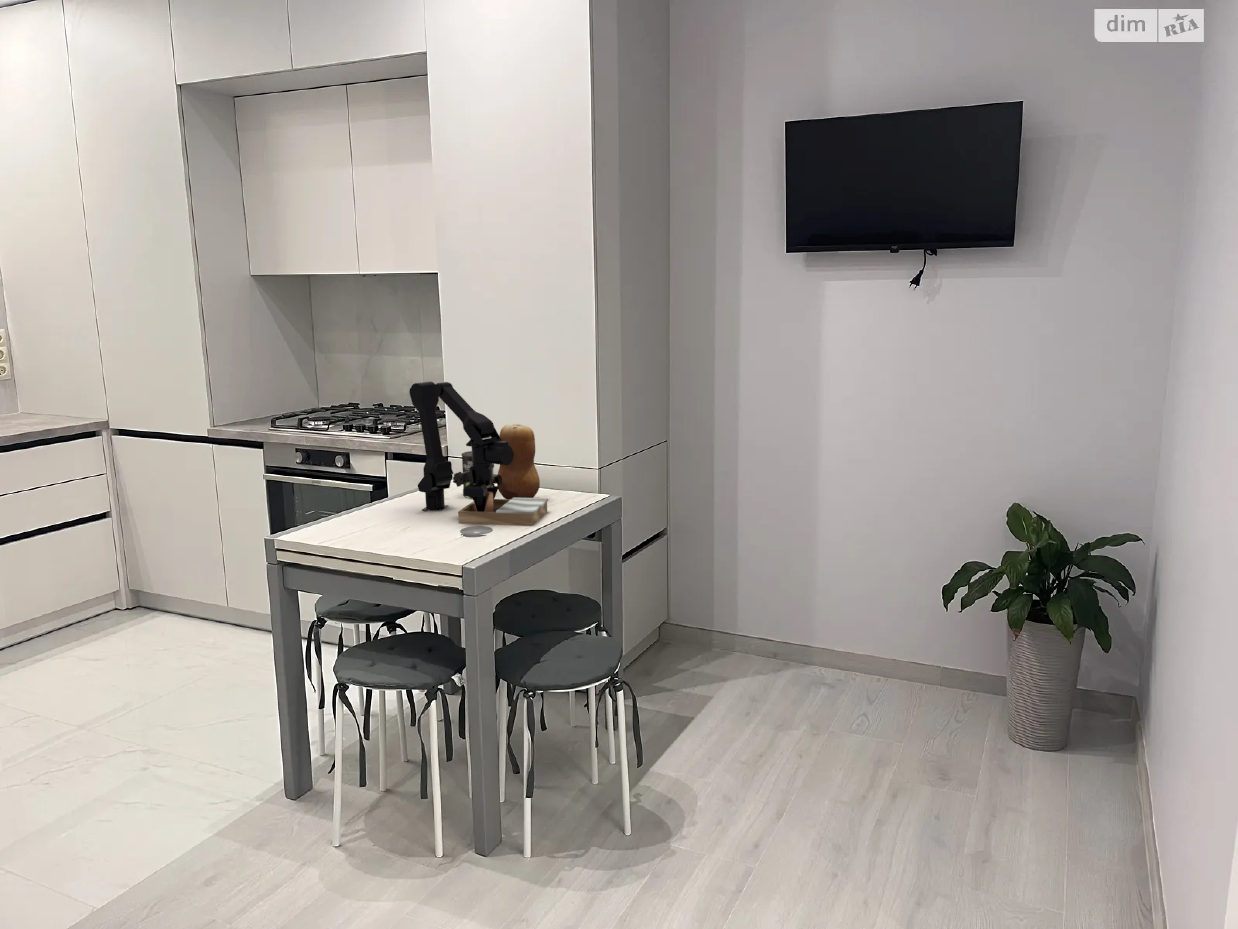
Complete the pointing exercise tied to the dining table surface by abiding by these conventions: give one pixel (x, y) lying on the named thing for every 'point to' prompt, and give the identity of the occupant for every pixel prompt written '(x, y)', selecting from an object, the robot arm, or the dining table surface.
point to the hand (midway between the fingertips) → (484, 513)
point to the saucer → (475, 531)
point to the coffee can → (467, 464)
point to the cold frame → (506, 512)
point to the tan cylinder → (488, 503)
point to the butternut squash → (519, 463)
